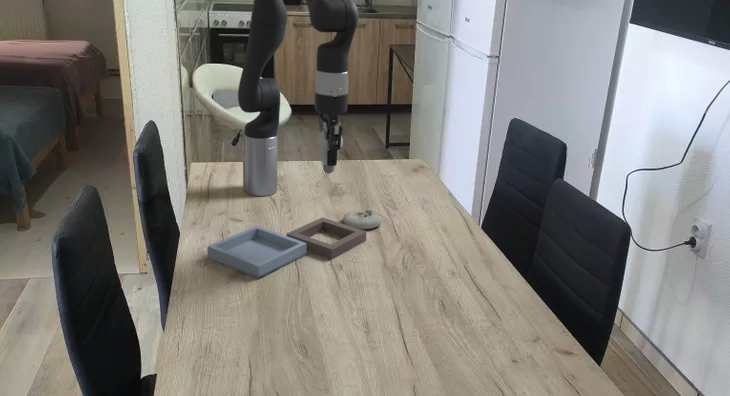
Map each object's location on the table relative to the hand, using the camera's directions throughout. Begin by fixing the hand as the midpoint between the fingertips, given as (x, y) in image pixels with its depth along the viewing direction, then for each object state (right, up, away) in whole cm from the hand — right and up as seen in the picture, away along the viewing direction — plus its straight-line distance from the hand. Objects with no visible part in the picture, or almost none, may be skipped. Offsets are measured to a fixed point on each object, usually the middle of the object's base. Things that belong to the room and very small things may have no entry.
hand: (328, 161), depth 153 cm
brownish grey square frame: (-1, -20, +7) cm, 21 cm away
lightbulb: (0, -3, +1) cm, 3 cm away
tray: (-16, -22, -2) cm, 28 cm away
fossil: (+8, -16, +20) cm, 27 cm away
